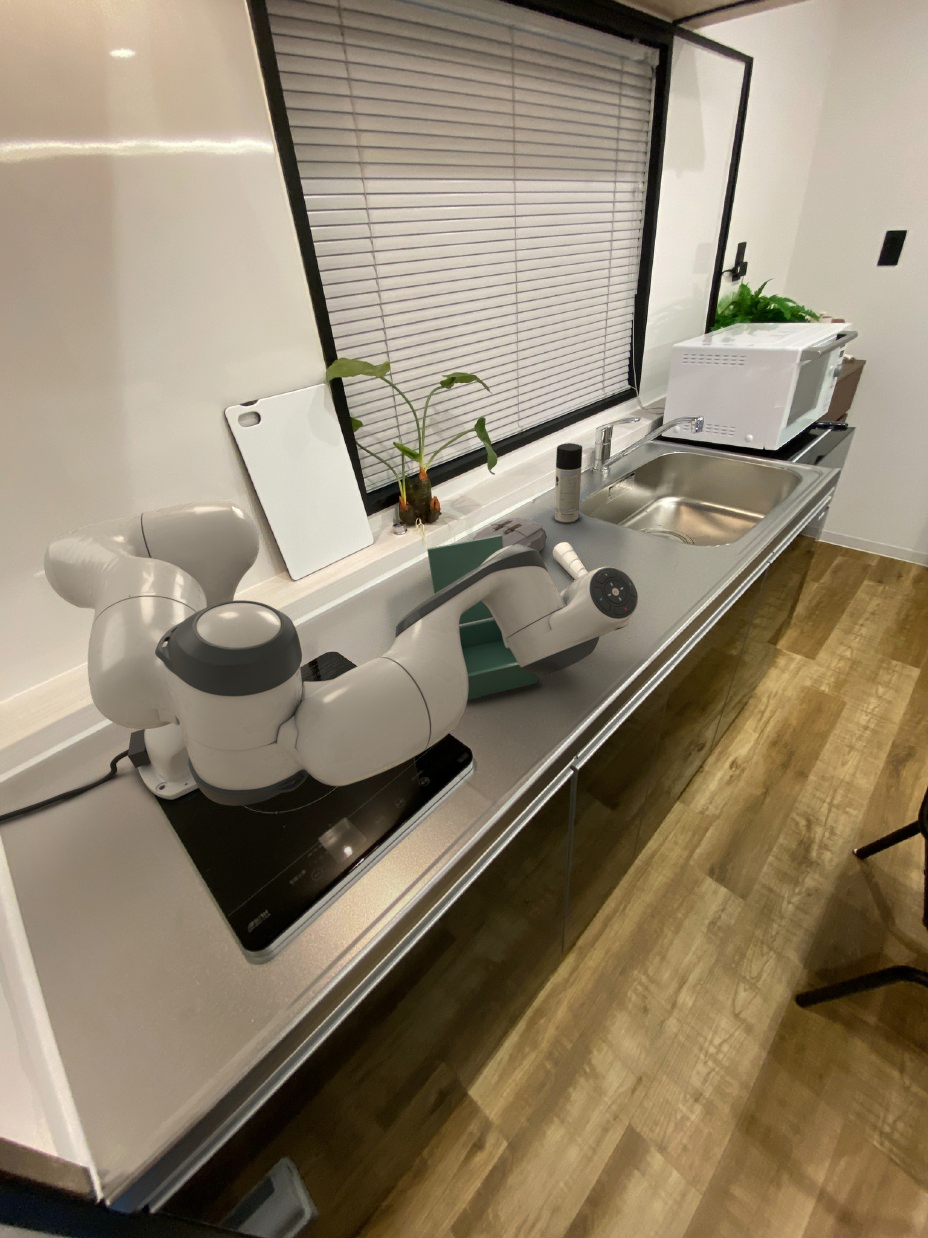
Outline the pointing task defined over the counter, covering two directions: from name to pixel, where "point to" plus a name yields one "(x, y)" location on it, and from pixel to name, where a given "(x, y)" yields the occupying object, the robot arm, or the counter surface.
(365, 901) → the counter surface
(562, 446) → the spray can
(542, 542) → the grey rounded bag
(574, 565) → the unicorn horn
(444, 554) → the lid
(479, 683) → the chest
